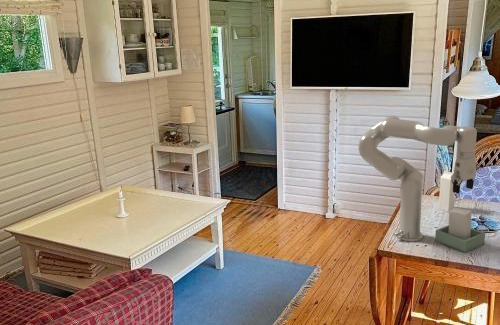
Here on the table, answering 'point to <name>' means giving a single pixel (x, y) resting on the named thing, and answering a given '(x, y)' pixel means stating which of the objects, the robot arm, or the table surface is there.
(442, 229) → the tote
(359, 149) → the robot arm
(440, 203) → the milk
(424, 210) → the table surface
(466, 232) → the skincare box
